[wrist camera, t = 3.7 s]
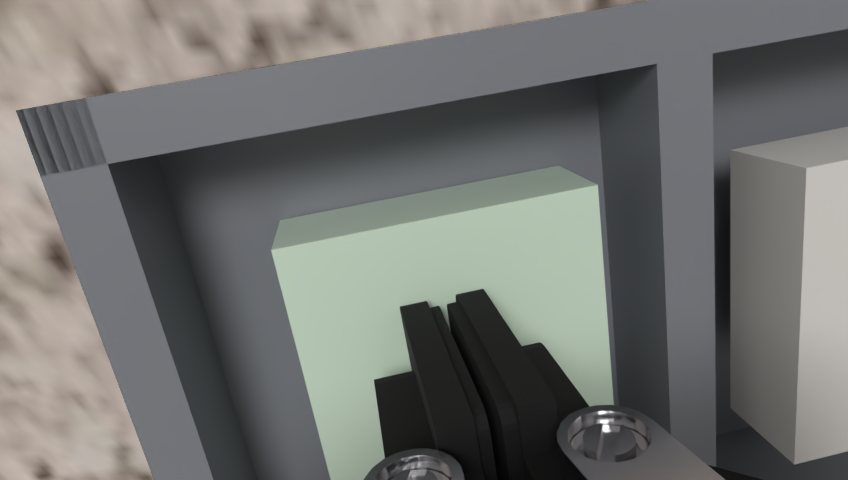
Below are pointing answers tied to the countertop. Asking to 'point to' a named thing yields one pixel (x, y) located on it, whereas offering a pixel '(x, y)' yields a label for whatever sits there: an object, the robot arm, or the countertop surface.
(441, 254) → the sage key
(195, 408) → the grey compartment tray
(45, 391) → the countertop surface
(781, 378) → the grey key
